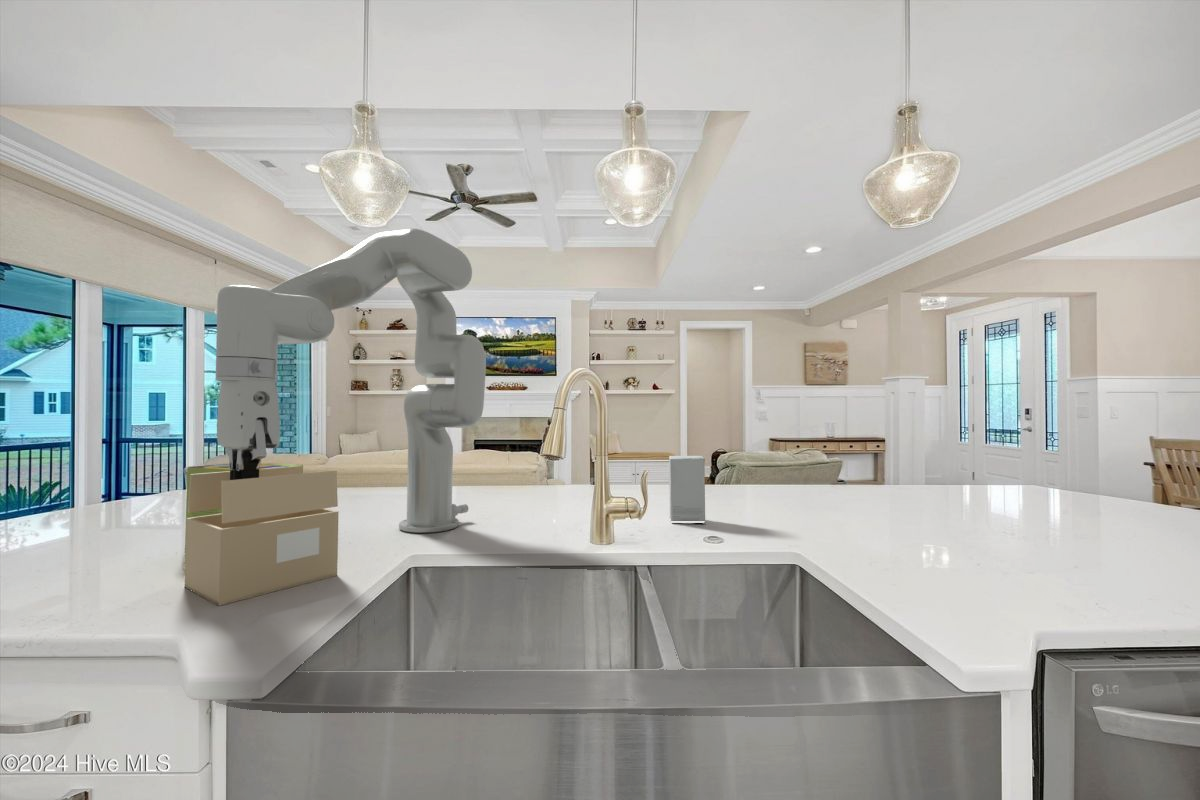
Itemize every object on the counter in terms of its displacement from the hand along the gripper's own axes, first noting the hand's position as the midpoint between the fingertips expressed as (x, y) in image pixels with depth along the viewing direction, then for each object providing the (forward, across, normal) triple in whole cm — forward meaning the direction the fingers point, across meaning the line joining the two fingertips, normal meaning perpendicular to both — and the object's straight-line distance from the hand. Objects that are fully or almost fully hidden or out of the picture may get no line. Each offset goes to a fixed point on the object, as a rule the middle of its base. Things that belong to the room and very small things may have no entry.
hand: (244, 496), depth 77 cm
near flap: (0, -5, -3) cm, 6 cm away
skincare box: (+13, -32, -82) cm, 89 cm away
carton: (+13, 0, -3) cm, 13 cm away
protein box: (+13, +22, -9) cm, 27 cm away
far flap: (0, +6, -3) cm, 6 cm away
